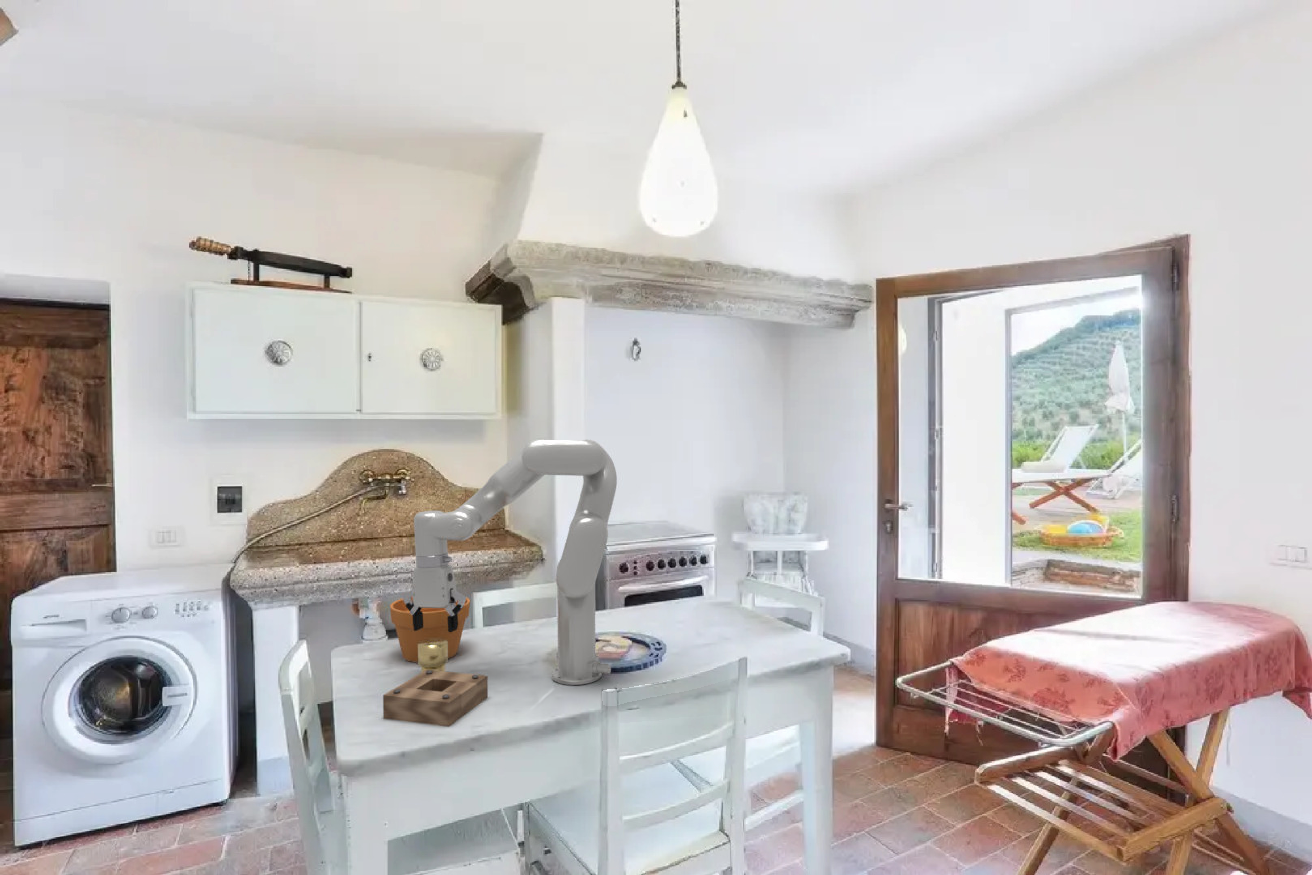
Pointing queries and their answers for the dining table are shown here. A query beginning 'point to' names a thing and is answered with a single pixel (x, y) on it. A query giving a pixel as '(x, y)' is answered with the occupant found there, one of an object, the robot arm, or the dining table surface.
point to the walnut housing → (435, 697)
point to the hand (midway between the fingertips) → (435, 629)
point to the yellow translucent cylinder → (433, 654)
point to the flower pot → (426, 628)
